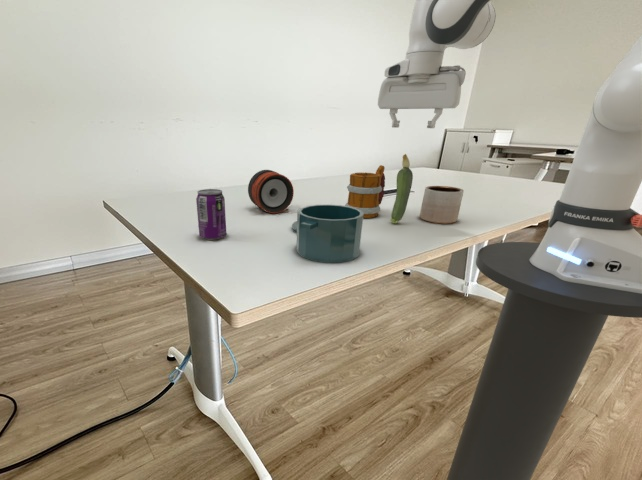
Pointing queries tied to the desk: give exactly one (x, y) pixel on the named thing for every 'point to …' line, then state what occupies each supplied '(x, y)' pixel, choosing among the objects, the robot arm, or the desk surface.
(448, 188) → the planter
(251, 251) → the desk surface
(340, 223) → the pot
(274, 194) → the oil filter
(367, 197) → the mug
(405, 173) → the vegetable
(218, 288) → the desk surface
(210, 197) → the beverage can
